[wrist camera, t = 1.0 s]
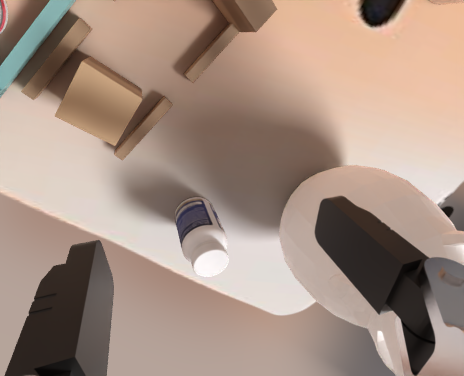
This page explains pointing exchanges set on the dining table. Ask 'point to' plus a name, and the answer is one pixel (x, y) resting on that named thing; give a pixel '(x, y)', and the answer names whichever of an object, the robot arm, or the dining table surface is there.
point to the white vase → (388, 211)
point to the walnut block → (99, 101)
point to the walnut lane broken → (240, 20)
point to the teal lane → (32, 41)
